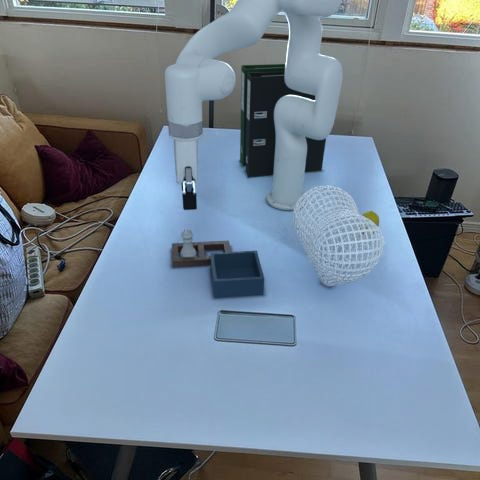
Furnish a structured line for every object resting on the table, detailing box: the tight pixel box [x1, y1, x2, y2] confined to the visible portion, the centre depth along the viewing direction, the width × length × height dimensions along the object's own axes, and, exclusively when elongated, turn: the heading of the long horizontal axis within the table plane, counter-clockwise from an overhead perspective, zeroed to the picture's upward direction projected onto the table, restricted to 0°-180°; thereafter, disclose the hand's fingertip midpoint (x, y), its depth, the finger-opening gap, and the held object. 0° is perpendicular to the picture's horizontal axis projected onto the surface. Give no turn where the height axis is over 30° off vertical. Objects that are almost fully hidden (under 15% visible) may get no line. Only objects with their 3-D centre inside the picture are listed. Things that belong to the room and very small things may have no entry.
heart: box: [292, 185, 385, 287], centre depth 111 cm, size 28×16×22 cm, turn 14°
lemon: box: [360, 210, 380, 237], centre depth 133 cm, size 6×6×8 cm
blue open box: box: [209, 250, 265, 299], centre depth 116 cm, size 12×12×5 cm
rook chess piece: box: [179, 228, 198, 258], centre depth 123 cm, size 4×4×8 cm
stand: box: [171, 240, 232, 269], centre depth 125 cm, size 9×16×2 cm, turn 97°
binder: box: [239, 63, 327, 178], centre depth 159 cm, size 27×15×32 cm, turn 102°
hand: (189, 199), depth 114 cm, fingers open, 9 cm apart
